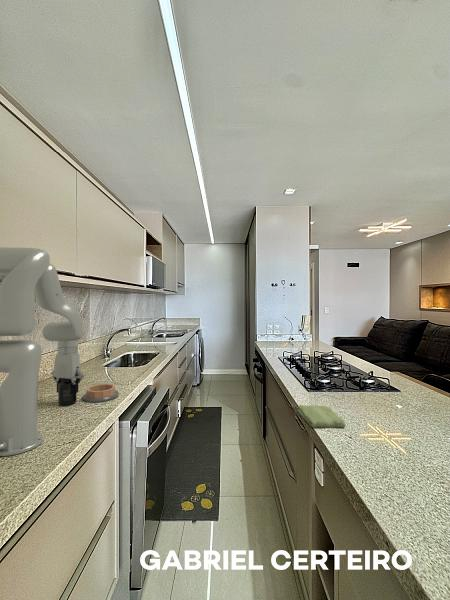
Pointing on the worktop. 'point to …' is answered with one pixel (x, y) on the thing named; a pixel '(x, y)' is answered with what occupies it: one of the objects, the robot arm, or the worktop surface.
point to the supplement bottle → (66, 393)
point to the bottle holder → (100, 393)
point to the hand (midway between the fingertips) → (67, 392)
